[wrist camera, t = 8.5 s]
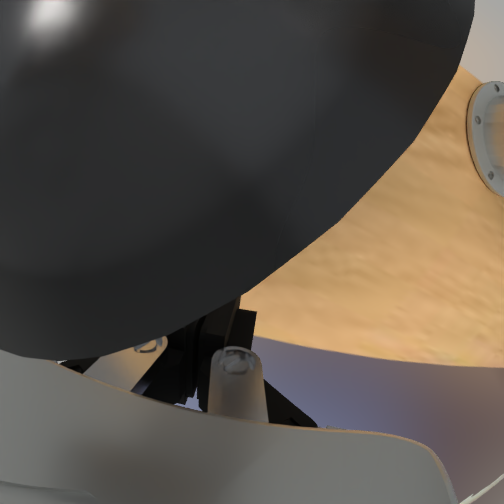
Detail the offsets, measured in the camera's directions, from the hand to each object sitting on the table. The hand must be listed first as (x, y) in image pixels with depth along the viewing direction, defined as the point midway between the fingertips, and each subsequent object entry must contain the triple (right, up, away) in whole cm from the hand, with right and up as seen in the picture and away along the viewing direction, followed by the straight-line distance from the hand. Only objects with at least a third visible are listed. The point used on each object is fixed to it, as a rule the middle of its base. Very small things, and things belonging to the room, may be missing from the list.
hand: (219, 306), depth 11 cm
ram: (+1, +8, +1) cm, 8 cm away
